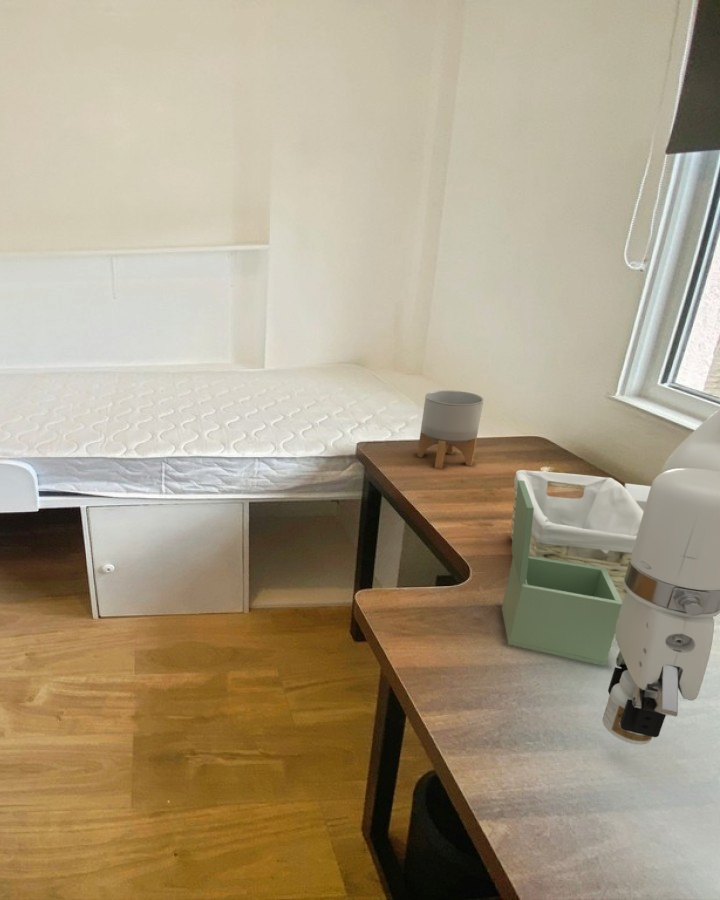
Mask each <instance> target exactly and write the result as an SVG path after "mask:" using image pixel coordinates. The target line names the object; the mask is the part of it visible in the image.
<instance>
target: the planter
mask: <svg viewBox="0 0 720 900" xmlns="http://www.w3.org/2000/svg"><path fill="white" fill-rule="evenodd" d="M483 404H484V397H483V396H481V395H478V394H476V393H472V392H467V391H462V390H434V391H430V392H427V393H426V394H425V397H424V403H423V412H422V419H421V426H420V434H419V441H418V448H417V456H416V457H419V458H423V457H424V456H425V453H426V451H427V449H428V448H430V447H432V446H435V445H437V449H436V456H435V463H434V468H435V469H438V470H439V469H440V470H441V469H443V465H444V460H445V456H446V454H448V455H453V454H454V450H455V448H456V449H457V450H459V452H460V453H461V454H462V455H463V457H464V460H465V466H468V467H472V465H473V462H474V456H475V452H476V446H477V440H478V433H479V428H480V421H481V417H482V410H483V406H484V405H483Z"/></svg>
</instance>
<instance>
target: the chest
mask: <svg viewBox="0 0 720 900" xmlns="http://www.w3.org/2000/svg"><path fill="white" fill-rule="evenodd" d="M622 603H623V602H622V600H621V598H620V596H619V594H618V592H617V590H616V588H615V586H614V584H613V582H612V580H611V578H610V576H609V574H608V571H607V569H606V568H601V567H595V566H589V565H583V564H577V563H570V562H564V561H558V560H552V559H546V558H539V557H533V556H529V559H528V568H527V578H526V584H523V583H519V580H518V575H517V571H516V567H515V563H514V559H513V558H512V559H511V563H510V569H509V573H508V577H507V583H506V587H505V592H504V596H503V601H502V605H501V612H502V617H503V622H504V627H505V634H506V639H507V644H508V645H509V646H513V647H519V648H522V649H528V650H532V651H536V652H541V653H545V654H550V655H554V656H558V657H563V658H568V659H572V660H577V661H582V662H586V663H589V664H595V665H599V666H603V667H604V666H606V664H607V660H608V657H609V654H610V650H611V647H612V644H613V641H614V638H615V628H616V623H617V619H618V615H619V612H620V609H621V606H622Z"/></svg>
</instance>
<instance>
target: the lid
mask: <svg viewBox="0 0 720 900" xmlns="http://www.w3.org/2000/svg"><path fill="white" fill-rule="evenodd" d="M533 512H534V507H533V504H532V501H531V499H530V496H529V493H528V490H527V487H526V484H525V482H524V481H521V480H518V486H517V497H516V507H515V518H514V529H513V539H512V538H511V540H512V541H511V554H512V560H513V559H514V563H515V567H516V571H517V575H518V580H519V583H523V584H526V578H527V568H528V559H529V550H530V540H531V531H532V521H533Z"/></svg>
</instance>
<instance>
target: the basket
mask: <svg viewBox="0 0 720 900" xmlns="http://www.w3.org/2000/svg"><path fill="white" fill-rule="evenodd" d="M518 480H521V481H524V482H525V484H526V487H527V490H528V493H529V496H530V499H531V501H532V504H533V507H534V512H533V521H532V531H531V540H530V550H529V556H533V557H539V558H546V559H552V560H558V561H564V562H570V563H577V564H583V565H589V566H595V567H601V568H606V569H607V571H608V574H609V576H610V578H611V580H612V582H613V584H614V586H615V588H616V590H617V592H618V594H619V596H620V598H621V600H622V602H623V600H624V598H625V595H626V592H627V591H626V590H625V588H624V586H623V582H624V578H625V575H626V571H627V568H628V564H629V561H630V558H631V555H632V551H633V547H634V544H635V540H636V537H637V533H638V530H639V526H640V523H641V519H642V516H643V512H644V511H643V510H642V509H641V508H640V506H639V505H638V504H637V502H636V501H635V500H634V498H633V497H632V495H631V494H630V493H629V492H628V491H627V490H626V489H625V488H624V486H623V485H622V484H621V483H620V482H619V481H617V480H615V479H614V477H613V478H612V477H610V476H609V477H604V476H595V475H588V474H587V475H586V474H576V473H569V472H568V473H566V472H555V471H554V472H552V471H543V470H542V471H541V470H526V469H519V470H517V471H516V472H515V476H514V479H513V484H514V486H513V490H514V491H513V495H514V499H513V505H512V514H511V522H510V523H511V525H510V528H511V529H510V537H511V540H512V539H513V529H514V518H515V507H516V497H517V486H518ZM548 487H555V488H558V487H560V488H568V489H577V490H579V489H580V490H581V489H582V490H583V492H582V497H581V498H574V497H572V498H571V497H560V496H552V495H551V496H550V495H548Z"/></svg>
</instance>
